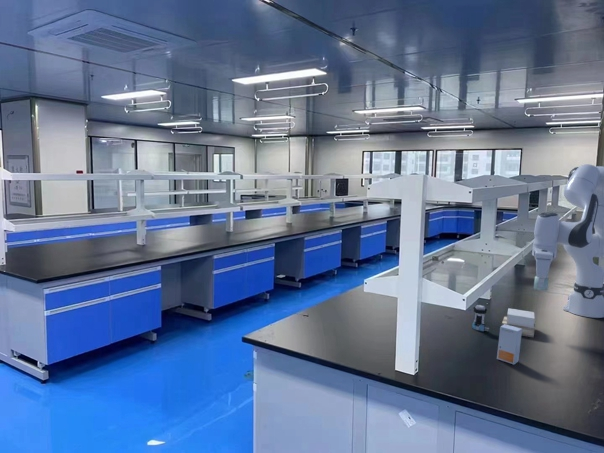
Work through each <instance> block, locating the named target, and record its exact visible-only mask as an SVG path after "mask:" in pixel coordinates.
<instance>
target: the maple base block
mask: <svg viewBox="0 0 604 453" xmlns="http://www.w3.org/2000/svg"><path fill="white" fill-rule="evenodd" d="M504 324H506V325H509V326H514V327H517V328H521V329H522V334H521V337H522V336H523V337H529V338H532V339H534V335H535V331H536V330H535V327H536V321H535V320H534V328H530V327H524V326H518V325H512V324H507V315H504V317H503V319H502V322H501V326H502V325H504Z"/></svg>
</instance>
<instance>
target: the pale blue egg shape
mask: <svg viewBox="0 0 604 453" xmlns="http://www.w3.org/2000/svg"><path fill="white" fill-rule="evenodd" d="M538 284H539V277H537V275H536V276H534V282H533V289H534V290H536V291H537V290H538V291H543V292H545V291H548V290H549V289H548V288H549V277H548V276H547V278H545V279H544V285H543V287H539V286H538Z"/></svg>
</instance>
